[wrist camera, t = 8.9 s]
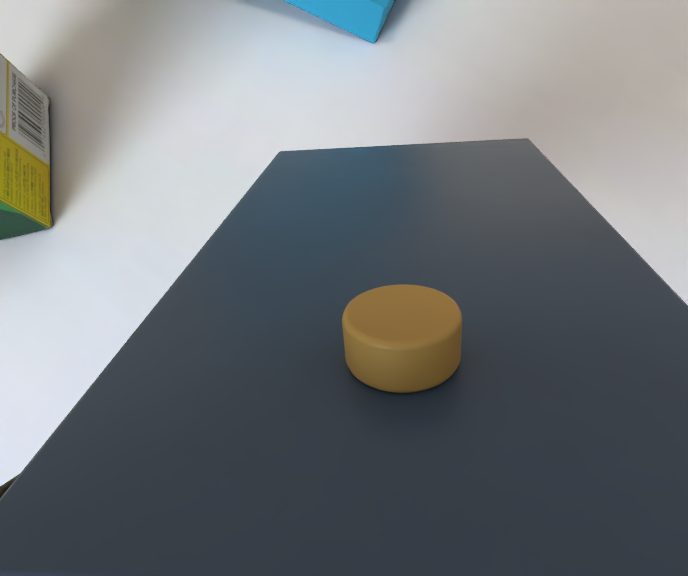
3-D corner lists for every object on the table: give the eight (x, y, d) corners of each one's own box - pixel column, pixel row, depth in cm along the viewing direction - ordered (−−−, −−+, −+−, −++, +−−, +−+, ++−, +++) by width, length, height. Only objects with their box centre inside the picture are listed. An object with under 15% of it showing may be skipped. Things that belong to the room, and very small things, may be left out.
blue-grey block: (539, 622, 13) (1318, 1696, 2) (288, 609, 14) (-216, 1317, 3) (504, 199, 17) (712, -321, 5) (303, 207, 17) (107, -232, 6)
